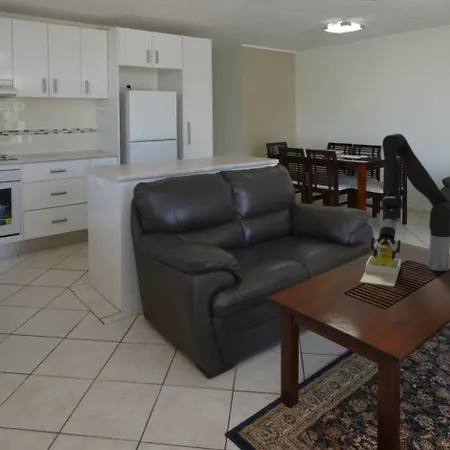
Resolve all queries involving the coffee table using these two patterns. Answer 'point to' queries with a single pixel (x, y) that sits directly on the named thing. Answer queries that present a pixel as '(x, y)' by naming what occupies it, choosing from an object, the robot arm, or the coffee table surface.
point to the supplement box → (384, 255)
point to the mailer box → (381, 273)
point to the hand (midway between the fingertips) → (383, 258)
